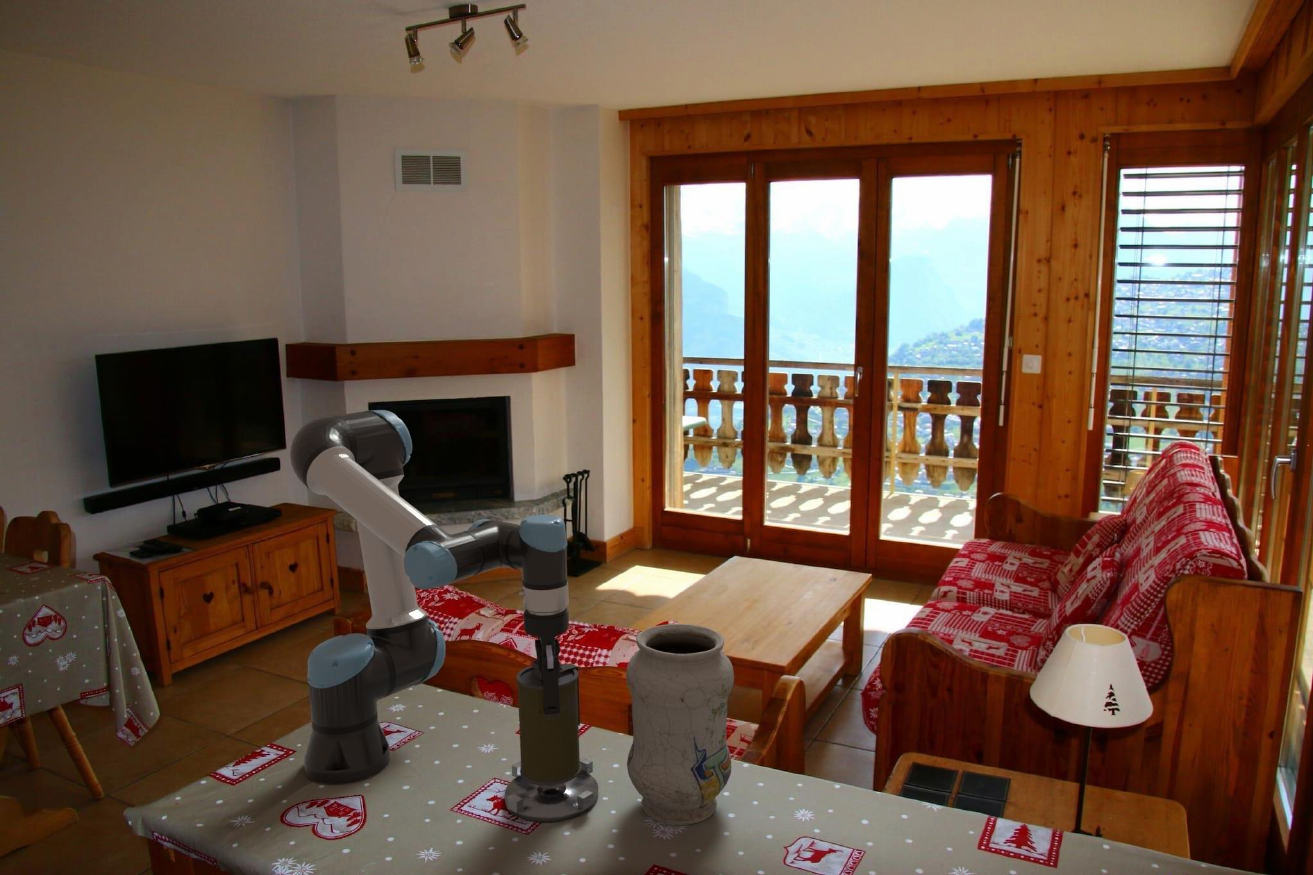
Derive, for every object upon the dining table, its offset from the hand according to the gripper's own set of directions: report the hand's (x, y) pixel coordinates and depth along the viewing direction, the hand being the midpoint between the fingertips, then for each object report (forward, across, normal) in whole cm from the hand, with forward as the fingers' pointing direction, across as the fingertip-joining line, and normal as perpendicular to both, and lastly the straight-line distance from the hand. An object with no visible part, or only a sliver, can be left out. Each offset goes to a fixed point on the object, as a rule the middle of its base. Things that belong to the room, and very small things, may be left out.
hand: (550, 738), depth 163 cm
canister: (+6, 0, 0) cm, 6 cm away
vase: (+11, +7, +21) cm, 25 cm away
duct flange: (+11, 0, 0) cm, 11 cm away
